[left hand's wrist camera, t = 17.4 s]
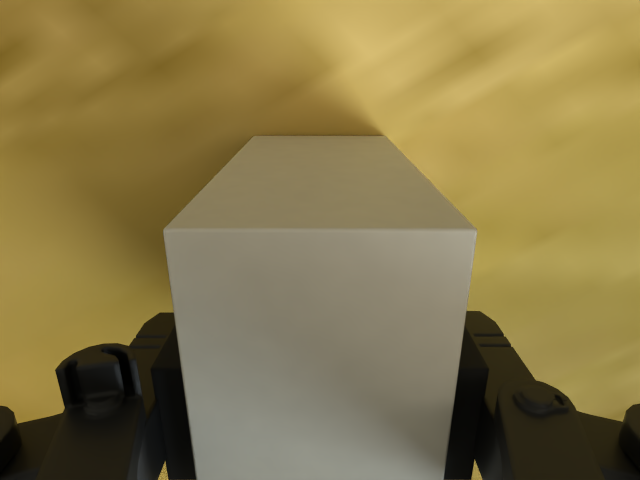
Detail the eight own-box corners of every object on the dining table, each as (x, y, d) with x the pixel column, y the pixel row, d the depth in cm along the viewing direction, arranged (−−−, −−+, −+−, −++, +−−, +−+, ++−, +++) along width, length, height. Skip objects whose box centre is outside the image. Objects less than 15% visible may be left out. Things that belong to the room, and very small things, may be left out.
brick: (386, 135, 15) (479, 229, 6) (375, 343, 19) (427, 602, 10) (253, 135, 15) (161, 228, 6) (263, 343, 19) (211, 604, 10)
